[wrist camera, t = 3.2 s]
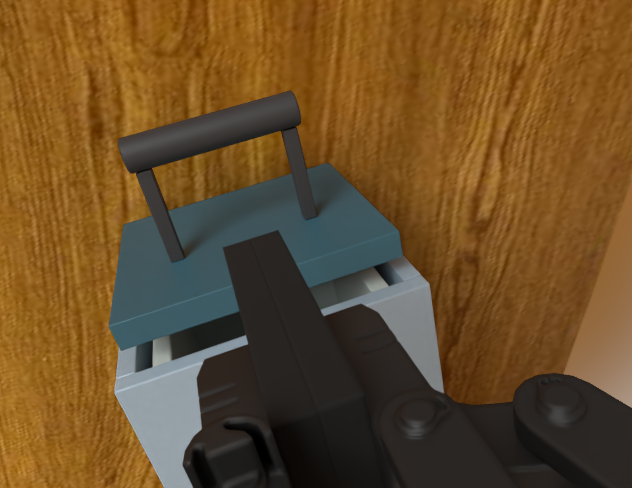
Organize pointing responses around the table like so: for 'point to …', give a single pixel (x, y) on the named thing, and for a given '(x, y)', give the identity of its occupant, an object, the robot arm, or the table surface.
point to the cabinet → (181, 374)
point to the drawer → (236, 233)
